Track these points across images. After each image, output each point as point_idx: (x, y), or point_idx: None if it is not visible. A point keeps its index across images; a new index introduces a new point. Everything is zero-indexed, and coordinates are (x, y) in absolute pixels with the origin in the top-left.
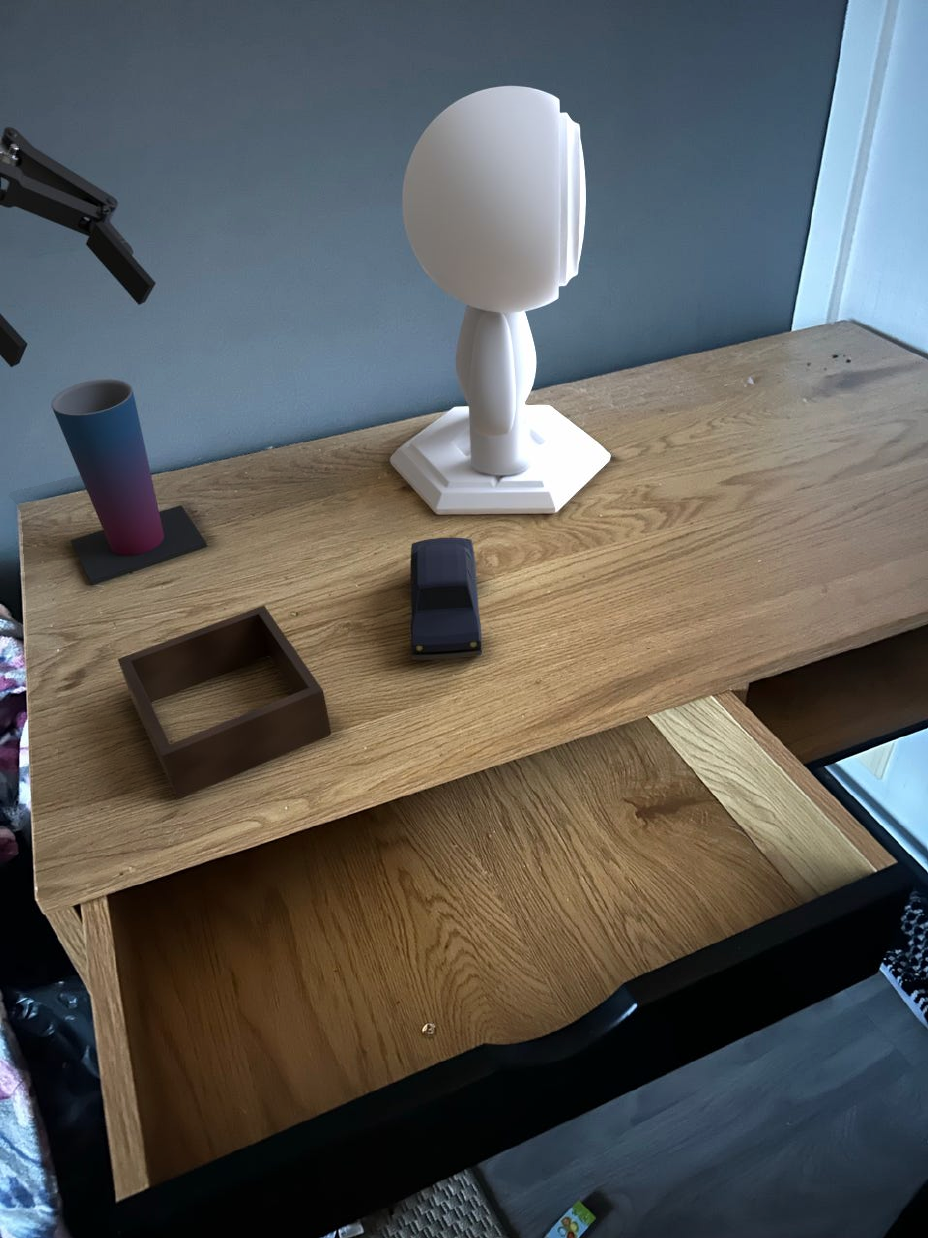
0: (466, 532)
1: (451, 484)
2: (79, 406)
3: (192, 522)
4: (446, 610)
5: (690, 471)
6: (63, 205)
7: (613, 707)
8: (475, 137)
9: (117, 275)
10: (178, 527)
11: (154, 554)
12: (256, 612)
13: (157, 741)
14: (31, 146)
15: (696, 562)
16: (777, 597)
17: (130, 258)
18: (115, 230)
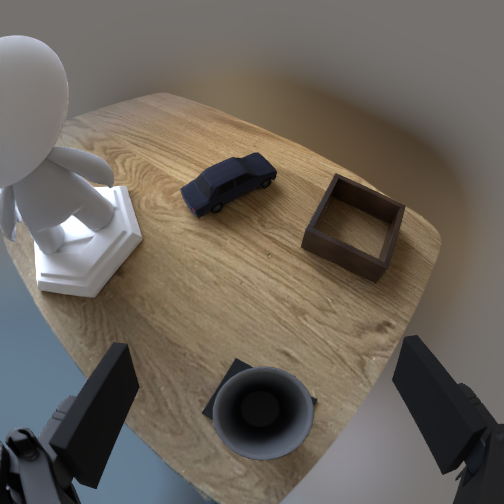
0: (155, 216)
1: (124, 229)
2: (256, 449)
3: (218, 387)
4: (249, 165)
5: None
6: None
7: (253, 126)
8: (15, 44)
9: (120, 418)
10: None
11: None
12: (313, 229)
13: (403, 212)
14: None
15: (153, 134)
16: (169, 112)
17: (96, 379)
18: (45, 430)
